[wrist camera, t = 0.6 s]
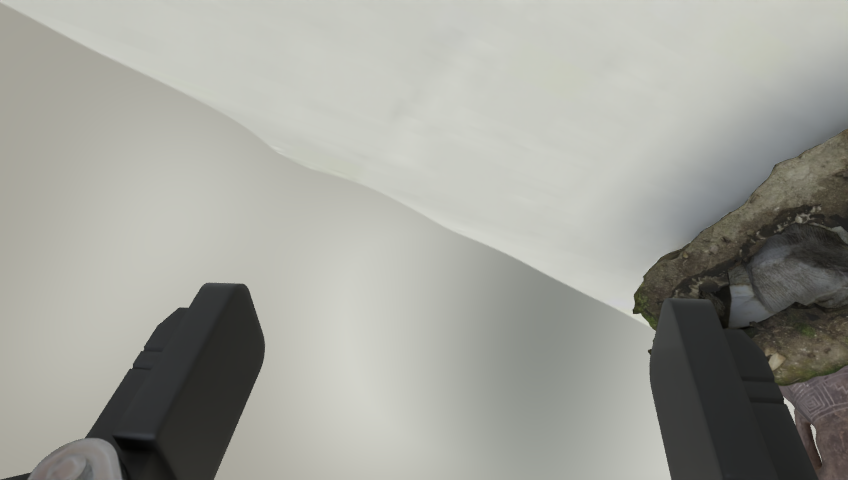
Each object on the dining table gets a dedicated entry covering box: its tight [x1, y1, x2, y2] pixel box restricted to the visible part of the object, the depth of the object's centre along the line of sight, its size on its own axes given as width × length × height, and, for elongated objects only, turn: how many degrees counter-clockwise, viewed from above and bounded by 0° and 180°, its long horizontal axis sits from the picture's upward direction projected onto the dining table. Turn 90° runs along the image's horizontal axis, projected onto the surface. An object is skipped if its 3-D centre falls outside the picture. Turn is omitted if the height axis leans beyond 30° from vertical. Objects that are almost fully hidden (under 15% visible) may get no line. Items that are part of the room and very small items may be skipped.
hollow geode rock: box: [633, 129, 848, 386], centre depth 44 cm, size 28×13×15 cm
